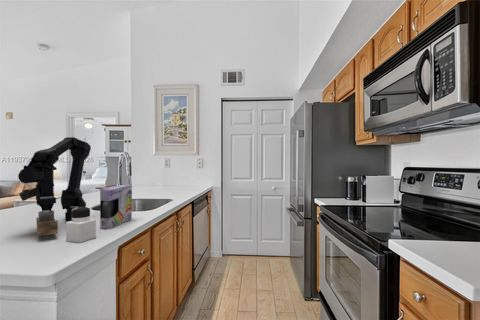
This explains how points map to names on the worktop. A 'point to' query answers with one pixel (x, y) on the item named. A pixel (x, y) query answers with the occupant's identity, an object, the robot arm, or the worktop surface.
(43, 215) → the grey block
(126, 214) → the cake pan box
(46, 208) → the robot arm
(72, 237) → the medicine bottle
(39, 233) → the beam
